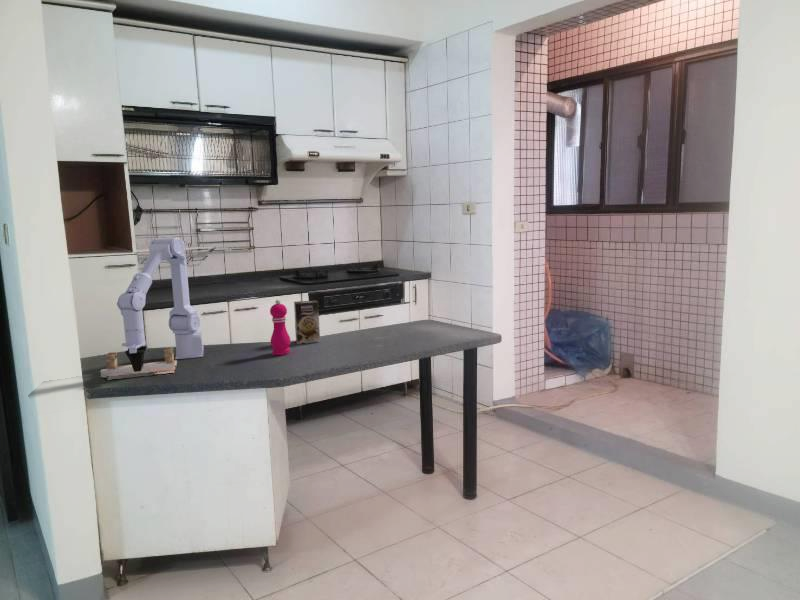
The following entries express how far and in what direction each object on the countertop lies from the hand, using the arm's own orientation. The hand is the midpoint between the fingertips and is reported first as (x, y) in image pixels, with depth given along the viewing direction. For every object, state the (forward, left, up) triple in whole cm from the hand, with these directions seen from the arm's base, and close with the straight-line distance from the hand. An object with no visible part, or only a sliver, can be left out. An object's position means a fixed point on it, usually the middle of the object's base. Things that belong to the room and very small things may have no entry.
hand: (138, 370), depth 192 cm
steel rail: (0, 0, -1) cm, 1 cm away
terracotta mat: (-1, 0, -2) cm, 2 cm away
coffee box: (-59, -25, -2) cm, 64 cm away
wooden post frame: (0, -8, -2) cm, 8 cm away
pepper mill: (-47, -9, -2) cm, 48 cm away
